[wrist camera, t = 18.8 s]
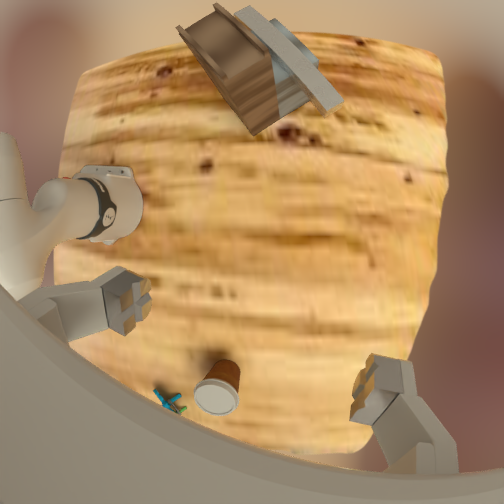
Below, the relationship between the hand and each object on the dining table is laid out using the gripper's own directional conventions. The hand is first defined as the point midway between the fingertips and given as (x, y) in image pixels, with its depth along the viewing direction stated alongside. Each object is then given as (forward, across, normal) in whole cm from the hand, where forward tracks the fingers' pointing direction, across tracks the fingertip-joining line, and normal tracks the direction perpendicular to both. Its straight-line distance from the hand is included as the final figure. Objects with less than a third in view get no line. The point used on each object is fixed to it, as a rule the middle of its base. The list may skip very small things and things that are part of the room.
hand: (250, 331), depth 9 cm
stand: (+49, -16, +13) cm, 54 cm away
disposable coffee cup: (+35, -11, -46) cm, 59 cm away
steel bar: (+34, -9, +18) cm, 40 cm away
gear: (+30, -23, -60) cm, 71 cm away
